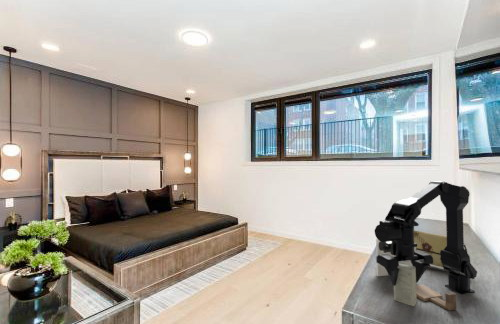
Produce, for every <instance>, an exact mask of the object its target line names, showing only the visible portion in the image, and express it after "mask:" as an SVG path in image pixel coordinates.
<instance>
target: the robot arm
mask: <svg viewBox="0 0 500 324" xmlns="http://www.w3.org/2000/svg"><path fill="white" fill-rule="evenodd" d="M470 195H471V193H470V191H469V189H468V188H467V187H465V186H464V185H463V186H462V185H455V184H452V183H449V182H446V181H441V180H432V181H429V183H428V185H426V186H425V187H423V188H421V189H420V190H418V191H417V192H416V193H415V194H413V195H412V196H410V197H407V198H403V199H400V200H398V201H396V202H395V201H394V203H393V204H392V205H391V207H390V209H389V211H388V213H387V215H386V216H385V218H384V220H379V224H377V225H376V226H375V229H374V235H375V237H376V239H378V240H379V241H381V242H379V249H380V251H384V253H386V252H391V254H392V255H395V257H392V256H390V255H388V254H381V255H378V256H377V257H376V262H377V263H379V264H380V265H382V266H383V267H385V269H386V270H387V272H388V275H387V276H388V278H389V280H390V282H391V285H392V286H393V287H394V286H395V285H396V282H397V278H398V273H399V268H397V267H398V266H399V263H400V262H408V261H411V263H412V265H413V266H414V267H415V268H416V284H417V283H419V280H420V279H421V278H422V276H423V274H424V273H425V272H426V271H427V269H429V268H428V267H431V264H433V257H432V256H431V255H430V254H427V253H425V252H422V251H420V250H419V251H414V247H417V244H416V243H414V230H415V227H419V224H420V223H418V222H417V221H415V220H417V218H418V217H419V216H420V215H421V214H422V209H423V208H424V207H425V206H427V205H428V204H430V203H431V202H433V201H434V200H435V199H436V198H438V197H439V199H440V202H441V203H442V205H443V206H444V208H445V222H446V223H445V224H446V225H445V226H446V236H447V246H446V247H445V248H444V249H443V250H441V251H440V254H441V257H440V260H441V263H442V265H443V267H442V268H443V269H442V270H443V271H450V272H449V273H448V279H447V280H448V281H447V282H448V284H444V287H445V288H448V289H449V290H452V291H454V292H456V293H458V294H460V295H467V294H473V293H476V291H475V290H473V289H471V279H472V280H475V278H476V277H477V274H478V270H477V269H476V268H475V266H473V265H472V263H471V257H470V255H469V253H468V251H467V252H466V250H465V248H464V245H465V244H464V243H465V241H464V209H465V207H466V206H467V205H468V204H469V198H470ZM388 241H392V243H390V244H387V243H386V242H388Z"/></svg>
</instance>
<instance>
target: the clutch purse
mask: <svg viewBox="0 0 500 324" xmlns="http://www.w3.org/2000/svg"><path fill="white" fill-rule="evenodd" d="M414 243H416V244H417V247H416V251H419V250H420V251H422V252H425V253H427V254H430V255H431V256H432V257H433V264H430V266H429V267H428V268H427V269H430V270H433V271H438V272H442V273H448V274H449V272H450V271H447V270H444V269H437V268H434V267H435V266H436V267H440V268H443V265H442V263H441V260H440V257H441V254H440V251H441V250H443V249H444V248H445V247H446V246H447V235H442V234H436V233H431V232H426V231H419V230H415V229H414ZM466 245H467V244H466V243H465V242H464V249H465V250H466V252H467V253H468V248H467V247H466ZM431 265H432V266H434V267H431Z"/></svg>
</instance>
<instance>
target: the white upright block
mask: <svg viewBox="0 0 500 324" xmlns="http://www.w3.org/2000/svg"><path fill="white" fill-rule="evenodd" d="M379 242H381V241H379V240H378V239H377V238H375V244H376V247H375V248H376V250H375V251H376V255H375V256H376V257H377V256H378V255H381V254H388V255H390V256H392V257H395V255H392V254H391V252H386V253H384V251H380V249H379ZM386 243H387V244H390V243H392V241H388V242H386ZM414 251H416V247H414ZM400 263H401V264H405V265H410V266H413V265H412V263H411V261H408V262H400ZM376 276H377V277H382V276H383V277H385V276H389V275H388V272H387V270H386V269H385V267H383V266H382V265H380V264H379V263H377V262H376Z"/></svg>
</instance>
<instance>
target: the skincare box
mask: <svg viewBox="0 0 500 324" xmlns="http://www.w3.org/2000/svg"><path fill="white" fill-rule="evenodd" d="M397 268H399V273H398V278H397V282H396V285H395V286H394V285H393V300H394V301H396V302H400V303H403V304H405V305H407V306H411V307H415V306H416V304H417V301H418V300H417V299H418V297H417V293H416V285H417V283H416V268H415V267H414V266H410V265H405V264H401V263H399V266H398V267H397Z"/></svg>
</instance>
